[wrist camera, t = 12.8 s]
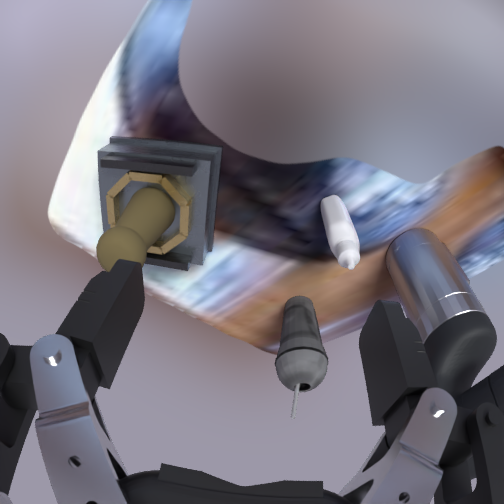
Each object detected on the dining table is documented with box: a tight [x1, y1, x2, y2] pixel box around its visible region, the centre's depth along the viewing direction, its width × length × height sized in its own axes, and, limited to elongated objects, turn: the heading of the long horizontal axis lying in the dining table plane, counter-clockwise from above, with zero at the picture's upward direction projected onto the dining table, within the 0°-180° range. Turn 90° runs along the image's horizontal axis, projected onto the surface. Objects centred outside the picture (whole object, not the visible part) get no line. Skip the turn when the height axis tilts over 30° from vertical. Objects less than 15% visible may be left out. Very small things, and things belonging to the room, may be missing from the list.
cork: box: [96, 187, 175, 272], centre depth 33 cm, size 6×6×11 cm
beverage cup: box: [275, 296, 328, 419], centre depth 42 cm, size 7×7×20 cm
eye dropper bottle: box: [321, 195, 360, 270], centre depth 36 cm, size 4×6×12 cm
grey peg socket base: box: [98, 136, 223, 271], centre depth 39 cm, size 15×15×7 cm
